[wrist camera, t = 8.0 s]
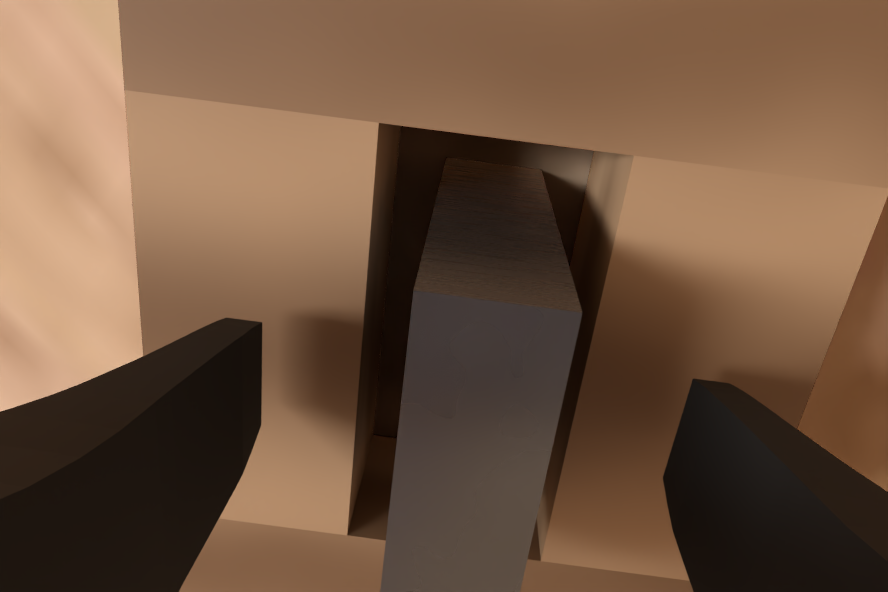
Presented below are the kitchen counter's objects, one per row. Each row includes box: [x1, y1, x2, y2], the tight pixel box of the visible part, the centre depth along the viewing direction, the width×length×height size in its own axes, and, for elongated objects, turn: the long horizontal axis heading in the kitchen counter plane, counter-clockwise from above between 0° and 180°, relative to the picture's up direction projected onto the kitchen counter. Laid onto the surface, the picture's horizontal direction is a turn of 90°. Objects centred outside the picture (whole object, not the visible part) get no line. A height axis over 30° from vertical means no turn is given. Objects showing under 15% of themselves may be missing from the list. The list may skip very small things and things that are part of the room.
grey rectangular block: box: [380, 157, 582, 592], centre depth 13 cm, size 6×2×7 cm, turn 173°
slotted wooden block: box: [118, 0, 888, 592], centre depth 14 cm, size 14×12×4 cm
